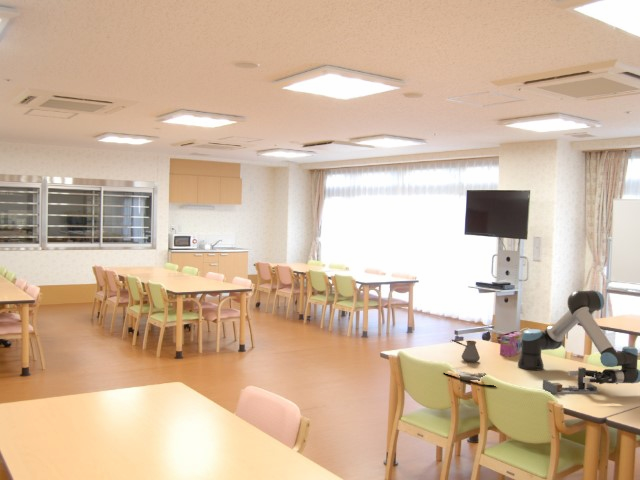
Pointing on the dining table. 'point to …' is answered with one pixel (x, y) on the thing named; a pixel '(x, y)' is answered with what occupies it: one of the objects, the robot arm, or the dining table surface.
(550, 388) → the anvil
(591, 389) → the press bed
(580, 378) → the carriage
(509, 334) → the gum box
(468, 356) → the coffee pot
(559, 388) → the walnut block
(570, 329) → the robot arm
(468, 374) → the elongated rock
